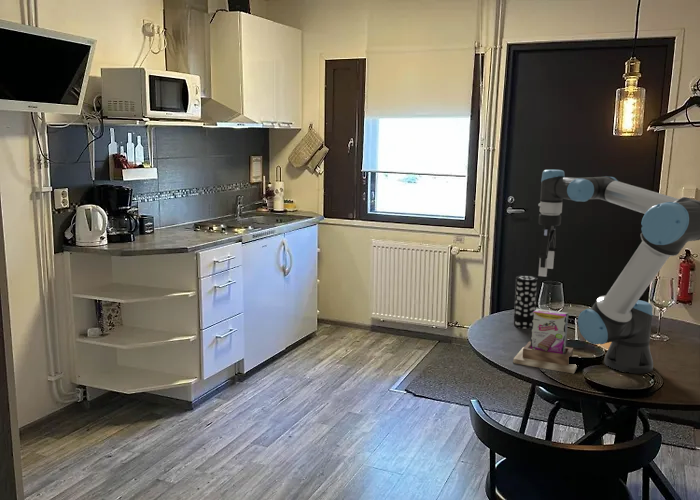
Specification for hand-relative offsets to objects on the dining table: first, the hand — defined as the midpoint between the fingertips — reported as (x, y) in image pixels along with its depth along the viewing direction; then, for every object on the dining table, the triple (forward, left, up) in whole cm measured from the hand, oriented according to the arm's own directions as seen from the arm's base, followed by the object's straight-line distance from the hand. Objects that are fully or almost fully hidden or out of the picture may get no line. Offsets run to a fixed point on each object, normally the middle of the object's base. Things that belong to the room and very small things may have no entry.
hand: (545, 272), depth 231 cm
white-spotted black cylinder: (+12, -23, -29) cm, 39 cm away
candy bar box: (-5, +14, -27) cm, 31 cm away
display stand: (-5, +14, -28) cm, 32 cm away
